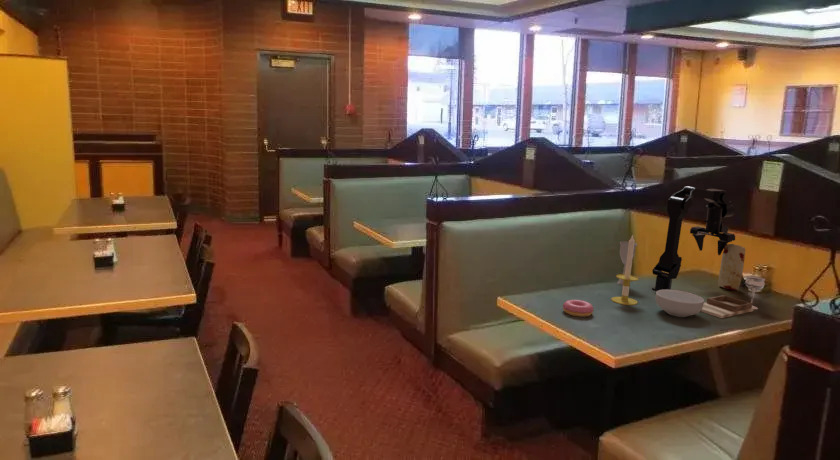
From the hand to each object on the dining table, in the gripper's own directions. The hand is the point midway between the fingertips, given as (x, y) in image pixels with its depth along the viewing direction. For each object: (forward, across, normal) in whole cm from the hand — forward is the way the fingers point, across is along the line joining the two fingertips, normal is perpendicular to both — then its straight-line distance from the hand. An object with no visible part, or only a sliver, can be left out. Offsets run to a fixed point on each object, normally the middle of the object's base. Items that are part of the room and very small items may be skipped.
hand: (709, 252), depth 279 cm
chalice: (+14, +14, +37) cm, 42 cm away
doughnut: (+12, -10, +86) cm, 88 cm away
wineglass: (+15, -29, +12) cm, 35 cm away
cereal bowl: (+14, -24, +49) cm, 57 cm away
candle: (+13, -5, +57) cm, 59 cm away
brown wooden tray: (+14, -27, +27) cm, 41 cm away
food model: (+15, -8, -4) cm, 18 cm away
